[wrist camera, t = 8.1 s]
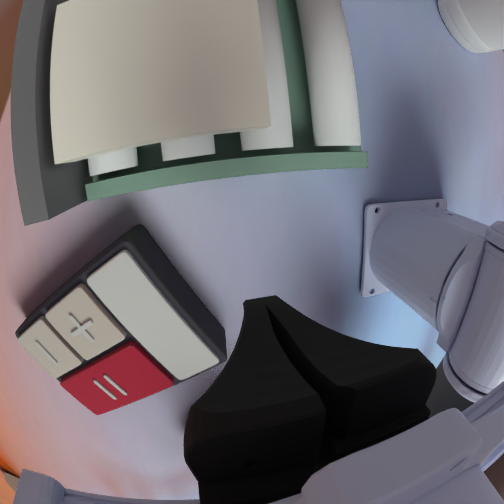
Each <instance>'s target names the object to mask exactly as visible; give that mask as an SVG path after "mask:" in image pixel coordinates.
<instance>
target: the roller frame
mask: <svg viewBox="0 0 504 504" xmlns="http://www.w3.org/2000/svg"><path fill="white" fill-rule="evenodd" d="M66 1H69V0H24V1H23V5H22V9H21V14H20V18H19V23H18V29H17V35H16V42H15V48H14V58H13V67H12V81H11V134H12V149H13V159H14V168H15V176H16V183H17V189H18V195H19V201H20V206H21V211H22V216H23V221H24V225H25V226H26V225H30V224H34V223H37V222H41V221H45V220H49V219H51V218H53V217H55V216H57V215H59V214H61V213H63V212H65V211H66V210H68V209H70V208H72V207H75V206H77V205H79V204H81V203H83V202H85V201H87V200H88V201H92V200H97V199H101V198H106V197H111V196H116V195H121V194H126V193H131V192H136V191H142V190H147V189H153V188H159V187H165V186H171V185H177V184H184V183H191V182H197V181H205V180H212V179H220V178H228V177H237V176H246V175H255V174H265V173H276V172H288V171H302V170H317V169H336V168H365V167H368V160H367V152H361V134H360V121H359V110H358V100H357V91H356V83H355V75H354V68H353V61H352V55H351V49H350V43H349V38H348V32H347V27H346V22H345V18H344V13H343V8H342V4H341V0H257V3H258V11H259V18H260V26H261V34H262V42H263V51H264V59H265V68H266V77H267V87H268V96H269V106H270V116H271V127H268V128H265V129H263V130H257V131H244V132H233V133H223V134H214V135H206V136H198V137H191V138H184V139H178V140H171V141H165V142H160V143H154V144H149V145H143V146H138V147H133V148H129V149H124V150H120V151H115V152H111V153H107V154H102V155H98V156H94V157H91V158H87V159H83V160H79V161H76V162H69V163H61V164H55V162H54V153H53V143H52V131H51V113H50V67H51V50H52V39H53V30H54V22H55V15H56V9H57V5H59V4H62V3H64V2H66Z"/></svg>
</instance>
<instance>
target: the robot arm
mask: <svg viewBox="0 0 504 504" xmlns="http://www.w3.org/2000/svg"><path fill="white" fill-rule="evenodd" d="M436 203H437V205H436ZM376 208H377V212H376V213H375V209H376ZM371 289H372V291H371V292H370V290H371ZM387 292H392V293H394V294H395V295H396V296H397V297H399V298H400V299H401V300H402V301H403V302H405V303H406V304H407V305H408V306H409V307H410V308H412V309H413V310H414V311H415V312H416V313H418V314H419V315H420V316H421V317H422V318H423V319H425V320H426V321H427V322H428V323H429V324H430V325H432V326H433V327H434V328H435V329H436V330H437V331H438V332H439V336H438V340H437V344H438V345H439V346H440V347H441V348H442V349H443V350H444V351H445V352H446V354H445V357H444V360H443V368H444V372H445V375H446V377H447V378H448V380H449V382H450V383H451V384H452V386H453V387H454V389H455V390H456V391H457V392H458V393H459V394H461V395H462V396H463V397H465V398H466V399H468V400H470V401H472V402H475V403H474V404H473V405H472V406H470V407H469V408H467V409H466V410H464V411H463V412H460V411H459V410H458V409H456V408H452V409H448V410H446V411H444V412H441V413H439V414H437V415H435V416H433V417H432V418H430V419H429V418H428V416H429V415H430V410H429V409H428V408H427V406H426V405H425V403H426V402H427V400H428V397H429V395H430V393H431V391H432V388H433V386H434V383H435V380H436V368H435V367H434V365H433V364H432V363H431V362H430V361H429V360H428V359H427V358H426V357H425V356H424V355H423V354H422V353H421V352H420V351H419V350H418V349H413V348H401V347H391V346H385V345H379V344H374V343H370V342H366V341H362V340H359V339H355V338H352V337H349V336H346V335H343V334H341V333H338V332H336V331H334V330H331V329H329V328H327V327H325V326H323V325H321V324H319V323H317V322H315V321H313V320H311V319H310V318H308V317H306V316H305V315H303V314H302V313H300V312H299V311H297V310H296V309H294V308H293V307H291V306H290V305H288V304H287V303H286V302H284V301H283V300H282V299H280V298H279V297H277V296H276V295H274V296H268V297H262V298H256V299H250V300H245V302H244V303H243V306H244V317H243V322H242V327H241V331H240V334H239V337H238V340H237V343H236V345H235V348H234V350H233V352H232V354H231V356H230V358H229V360H228V362H227V364H226V365H225V367H224V369H223V370H222V372H221V373H220V375H219V376H218V377H217V379H216V380H215V381H214V383H213V384H212V385H211V386H210V388H209V389H208V390H207V391H206V392H205V393H204V394H203V395H202V396H201V397H200V398H199V399H198V400H197V401H196V402H195V403H194V404H193V405H192V406H191V408H190V411H189V415H188V418H187V422H186V427H185V433H184V458H185V461H186V464H187V465H188V467H189V468H190V470H191V472H192V473H193V475H194V476H195V478H196V479H197V481H198V486H199V497H200V499H195V500H148V499H132V498H121V497H112V496H105V495H98V494H92V493H86V492H80V491H75V490H71V489H66V488H64V486H63V485H62V484H61V483H59V482H58V481H57V480H55V479H54V478H52V477H50V476H47V475H45V474H41V473H37V472H34V471H30V470H27V469H22V473H21V476H20V479H19V483H18V487H17V490H16V494H15V498H14V502H13V504H504V501H503V499H502V498H501V497H500V495H499V494H498V492H497V491H496V489H495V488H494V487H493V485H492V484H491V483H490V481H489V480H488V478H487V477H486V476H485V474H484V473H483V471H485V470H486V469H487V468H488V467H489V466H490V465H491V464H492V463H493V462H495V461H496V460H497V459H498V458H499V457H500V456H501V455H502V454H503V453H504V222H503V221H496V222H495V223H493V224H492V225H491V226H487V225H485V224H482V223H480V222H477V221H475V220H472V219H469V218H467V217H464V216H461V215H458V214H456V213H453V212H450V211H447V200H446V199H427V200H413V201H400V202H387V203H375V204H368V205H367V206H366V207H365V211H364V248H363V267H362V281H361V295H362V296H363V297H365V298H367V297H371V296H375V295H379V294H383V293H387Z"/></svg>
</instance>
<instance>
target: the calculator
mask: <svg viewBox="0 0 504 504" xmlns="http://www.w3.org/2000/svg"><path fill="white" fill-rule="evenodd" d="M15 334H16V336H17V338H18V342H19V343H20V344H21V346H22V347H23V348H24V349H25V350H26V351H27V352H28V353H29V354H30V355H31V356H32V358H33V359H34V360H35V361H36V362H37V363H38V364H39V365H40V366H41V367H42V368H43V369H44V370H45V371H46V372H47V373H48V374H49V375H50V376H51V377H53V378H56V379H57V380H59V381H60V382H61V383H60V384H61V386H62V387H63V388H64V389H65V390H67V391H68V392H69V393H70V394H71V395H72V396H73V397H75V398H76V399H77V400H78V401H79V402H81V403H82V404H83V405H84V406H86V407H87V408H88V409H89V410H91V411H92V412H93V413H94V414H96V415H100V414H103V413H106V412H109V411H111V410H114V409H117V408H120V407H122V406H125V405H127V404H130V403H133V402H135V401H138V400H140V399H143V398H145V397H148V396H150V395H152V394H155V393H157V392H160V391H162V390H164V389H167V388H169V387H171V386H174V385H176V384H178V383H181V382H183V381H185V380H187V379H189V378H192V377H194V376H196V375H198V374H200V373H202V372H205V371H207V370H209V369H211V368H213V367H215V366H217V365H219V364H221V363H223V362H225V361H226V360H227V351H226V337H225V330H224V328H223V327H222V326H221V325H220V324H219V322H218V321H217V320H216V319H215V318H214V316H213V315H212V314H211V313H210V311H209V310H208V309H207V308H206V307H205V305H204V304H203V303H202V302H201V300H200V299H199V298H198V297H197V295H196V294H195V293H194V292H193V290H192V289H191V288H190V287H189V285H188V284H187V283H186V282H185V280H184V279H183V278H182V276H181V275H180V274H179V273H178V271H177V270H176V269H175V267H174V266H173V265H172V263H171V262H170V261H169V259H168V258H167V257H166V255H165V254H164V253H163V251H162V250H161V249H160V247H159V246H158V245H157V243H156V242H155V241H154V239H153V238H152V236H151V235H150V234H149V232H148V231H147V229H146V228H145V227H144V226H143V225H140V224H139V225H136V226H134V227H133V228H132V229H130V230H129V231H128V232H126V233H125V234H124V235H122V236H121V237H120V238H118V239H117V240H116V241H115V242H113V243H112V244H111V245H109V246H108V247H107V248H106V249H104V250H103V251H102V252H101V253H99V254H98V255H97V256H96V257H95V258H94V259H93V260H91V261H90V262H89V263H88V264H86V265H85V266H84V267H83V268H82V269H80V270H79V271H78V272H77V273H76V274H74V275H73V276H72V277H71V278H70V279H69V280H67V281H66V282H65V283H64V284H63V285H62V286H60V287H59V288H58V289H57V290H56V291H55V292H54V293H52V294H51V295H50V296H49V297H48V298H47V299H46V300H45V301H44V302H43V303H41V304H40V305H39V306H38V307H37V308H36V309H35V310H34V311H33V312H32V313H31V314H30V315H29V316H28V317H27V318H26V319H25V321H24V322H23V323H22V324H21V325H20V327H19V328H18V329H17V331H16V333H15Z"/></svg>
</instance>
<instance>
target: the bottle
mask: <svg viewBox="0 0 504 504" xmlns="http://www.w3.org/2000/svg"><path fill="white" fill-rule="evenodd" d="M438 8H439V12H440V15H441V17H442V19H443V21H444V23H445V25H446V27H447V28H448V30H449V32H450V33H451V35H452V36H453V37H454V38H455V39H456V41H457V42H458V43H459V44H460V45H461V46H463V47H464V48H465V49H466V50H467V51H469V52H472V53H481V52H482V53H487V52H493V51H496V50H502V49H504V0H438Z"/></svg>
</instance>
